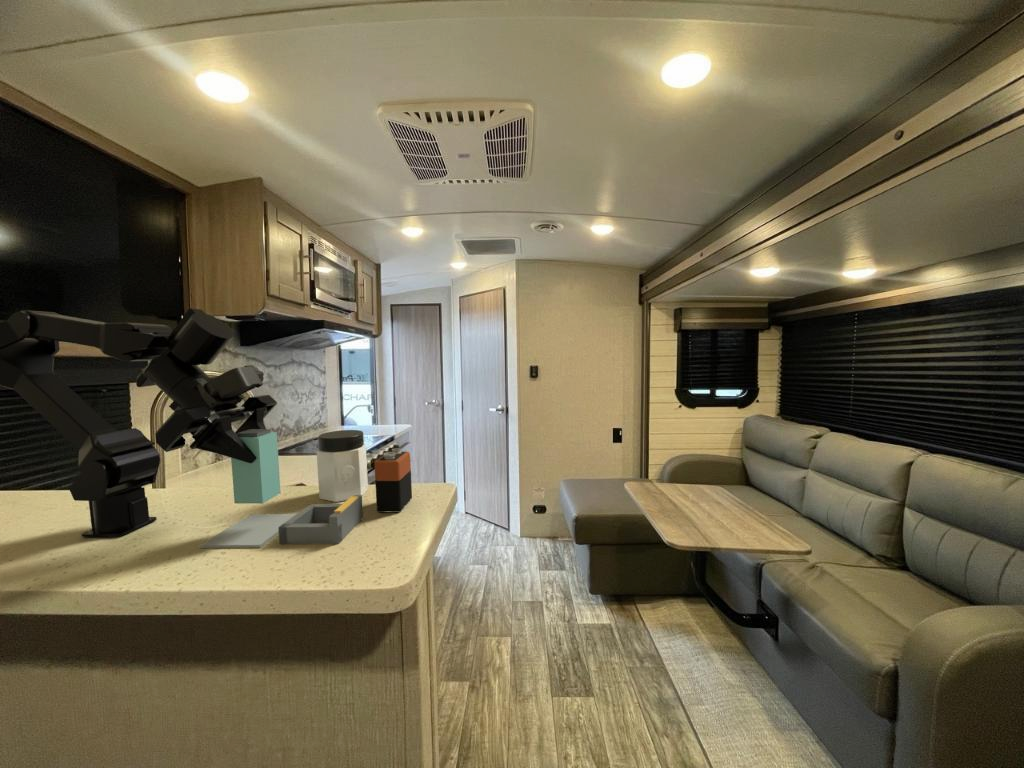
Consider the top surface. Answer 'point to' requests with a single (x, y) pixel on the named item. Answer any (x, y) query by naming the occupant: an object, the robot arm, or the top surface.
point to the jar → (341, 465)
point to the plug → (257, 468)
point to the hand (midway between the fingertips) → (264, 456)
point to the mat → (249, 532)
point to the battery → (393, 480)
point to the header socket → (328, 533)
